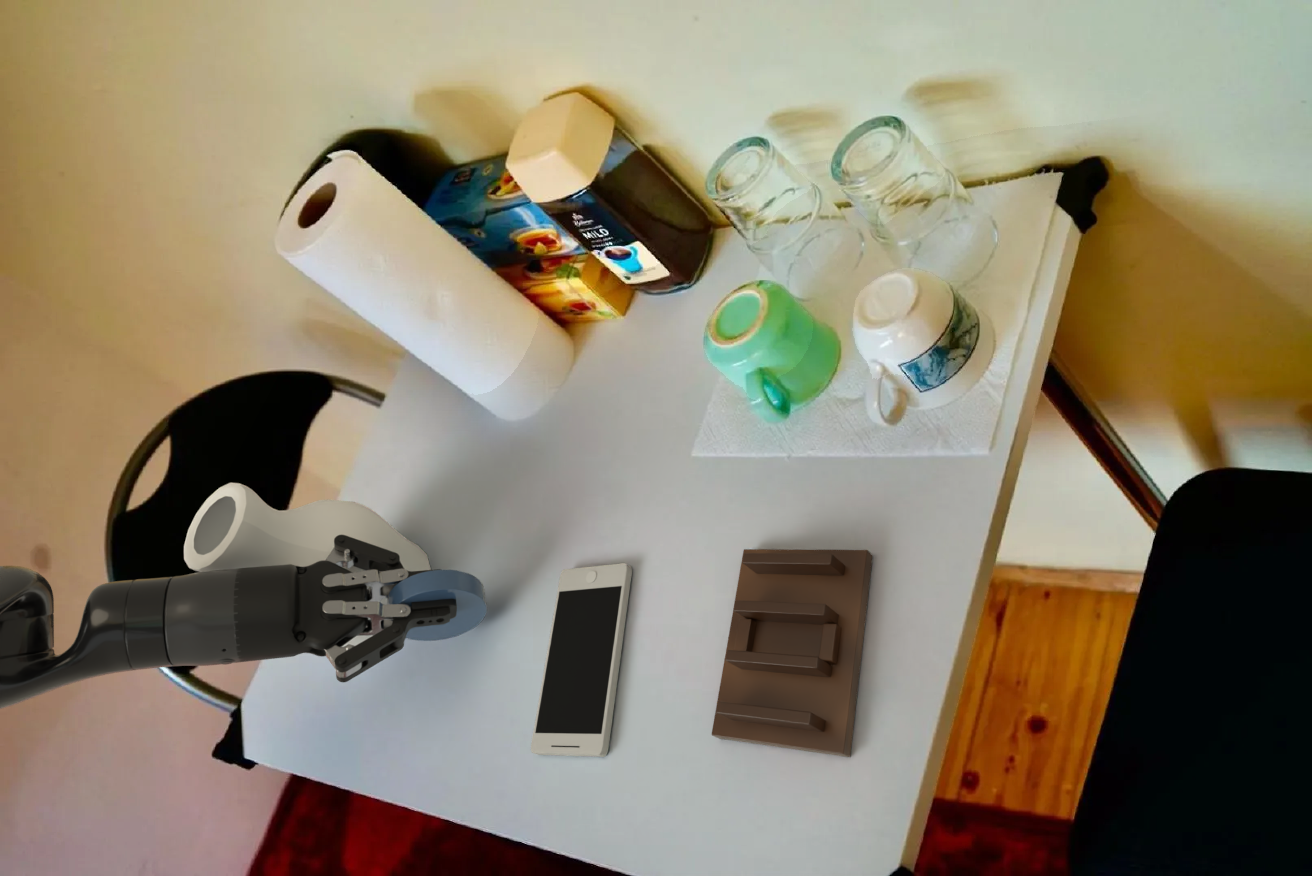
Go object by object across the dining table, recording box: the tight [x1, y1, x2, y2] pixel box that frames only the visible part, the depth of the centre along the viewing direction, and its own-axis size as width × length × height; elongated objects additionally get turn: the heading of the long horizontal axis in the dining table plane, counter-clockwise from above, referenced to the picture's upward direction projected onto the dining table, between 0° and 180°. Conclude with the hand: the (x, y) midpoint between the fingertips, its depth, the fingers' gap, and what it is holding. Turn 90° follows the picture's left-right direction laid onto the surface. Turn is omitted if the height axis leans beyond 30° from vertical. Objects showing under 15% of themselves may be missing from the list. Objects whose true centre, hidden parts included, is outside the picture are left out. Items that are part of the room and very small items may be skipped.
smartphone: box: [530, 562, 633, 758], centre depth 73 cm, size 7×16×1 cm, turn 172°
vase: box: [183, 482, 432, 647], centre depth 84 cm, size 14×14×20 cm
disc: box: [387, 569, 488, 642], centre depth 78 cm, size 2×8×8 cm, turn 106°
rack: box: [711, 548, 874, 758], centre depth 63 cm, size 14×10×4 cm
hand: (453, 594), depth 78 cm, fingers closed on disc, 2 cm apart
